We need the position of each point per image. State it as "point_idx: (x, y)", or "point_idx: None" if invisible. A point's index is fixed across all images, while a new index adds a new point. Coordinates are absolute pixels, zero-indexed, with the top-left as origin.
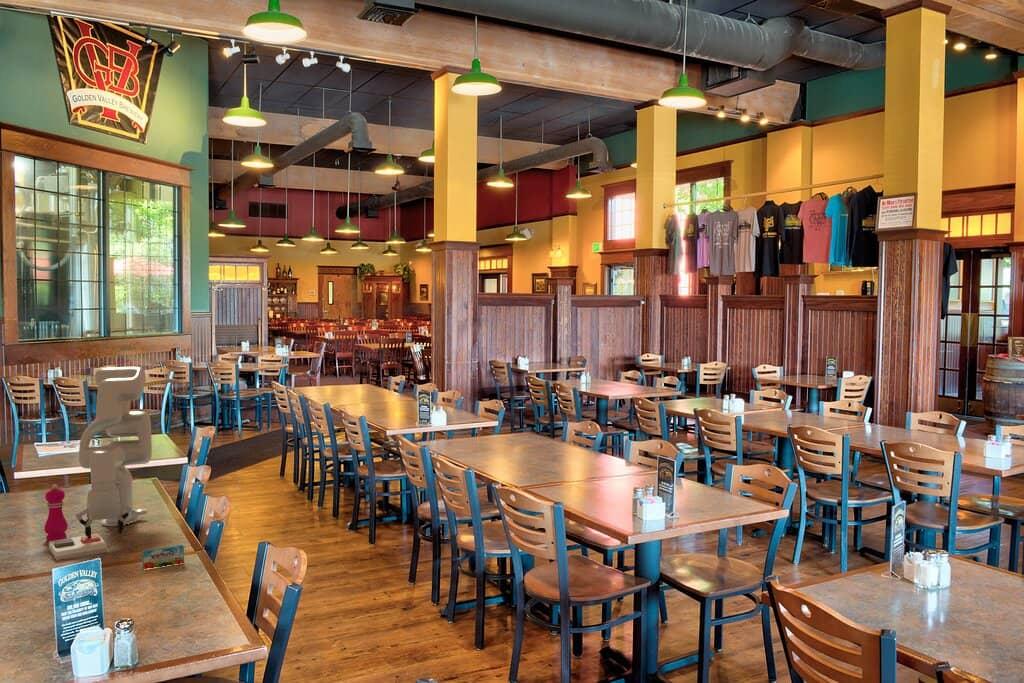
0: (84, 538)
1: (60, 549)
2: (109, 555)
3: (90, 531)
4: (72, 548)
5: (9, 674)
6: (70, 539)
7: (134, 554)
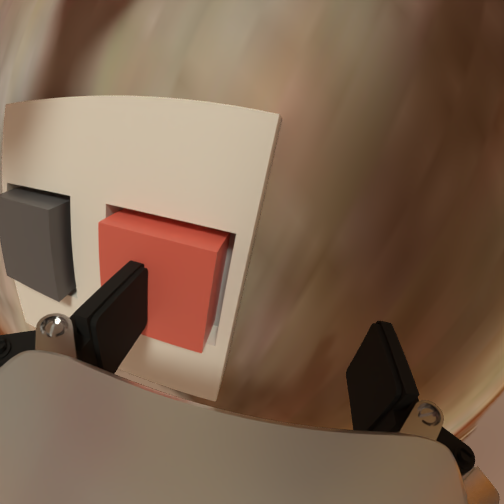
0: None
1: (32, 306)
2: (217, 402)
3: (120, 357)
4: None
5: None
6: (44, 241)
7: None
